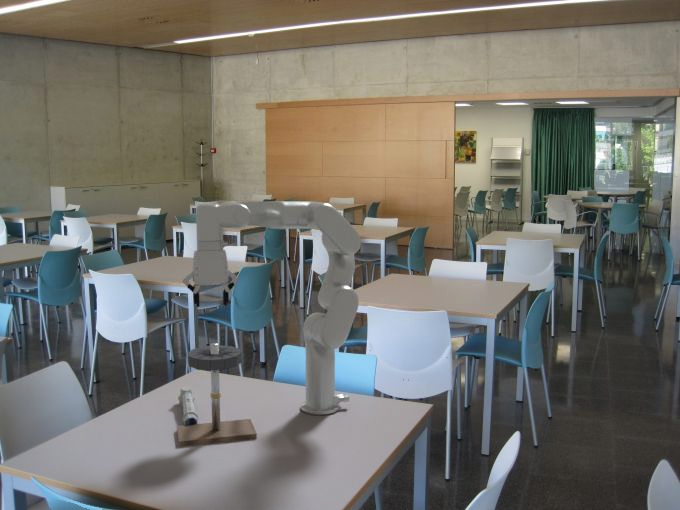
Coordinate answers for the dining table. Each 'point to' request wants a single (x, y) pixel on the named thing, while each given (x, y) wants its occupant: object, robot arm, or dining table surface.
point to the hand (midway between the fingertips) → (211, 305)
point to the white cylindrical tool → (188, 405)
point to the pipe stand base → (215, 432)
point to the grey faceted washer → (214, 358)
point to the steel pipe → (215, 391)
